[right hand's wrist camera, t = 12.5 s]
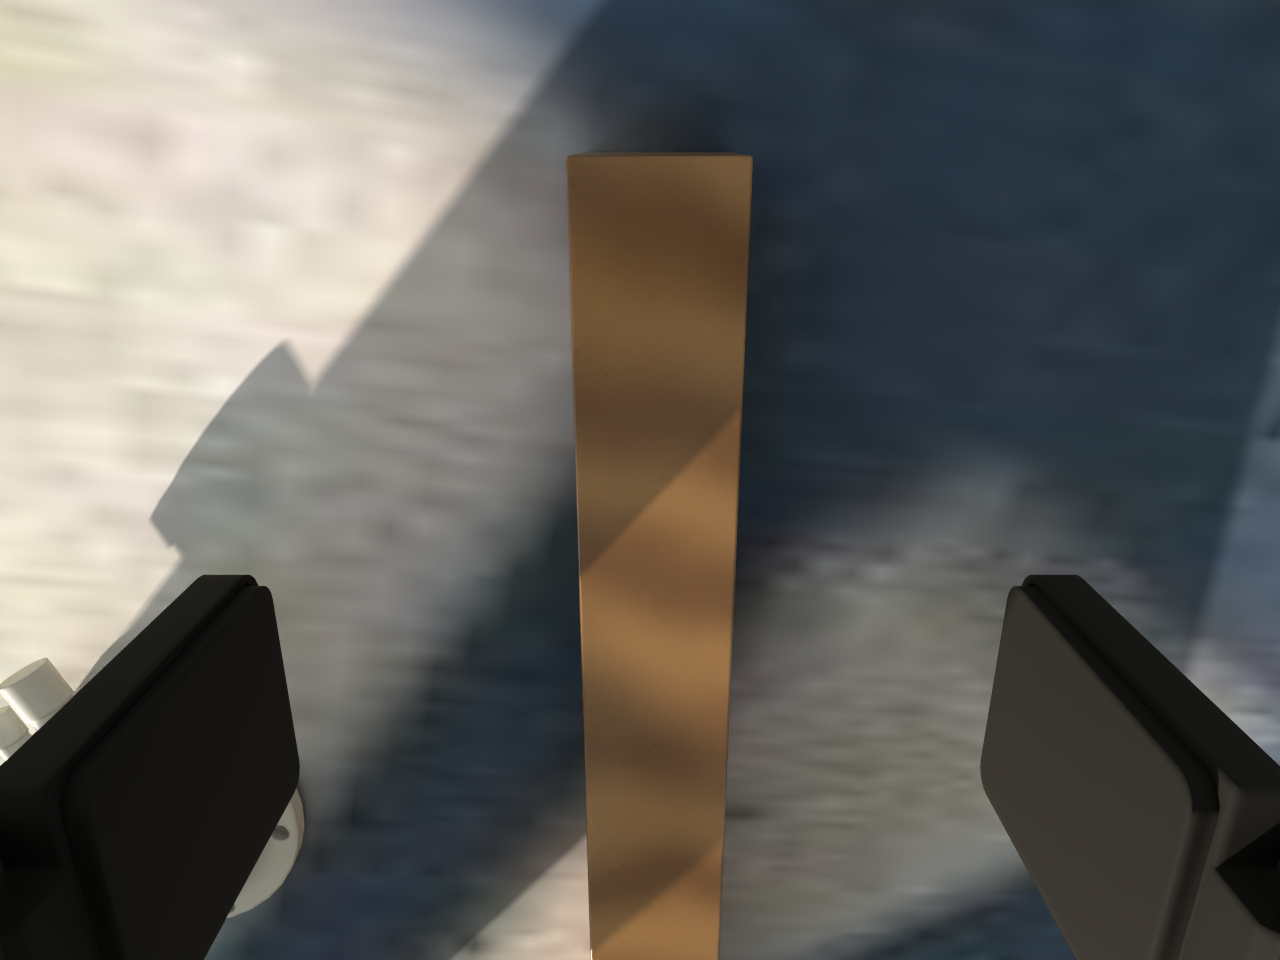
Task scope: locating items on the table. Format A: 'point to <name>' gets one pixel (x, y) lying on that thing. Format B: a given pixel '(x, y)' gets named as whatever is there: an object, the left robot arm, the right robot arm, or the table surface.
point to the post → (657, 530)
